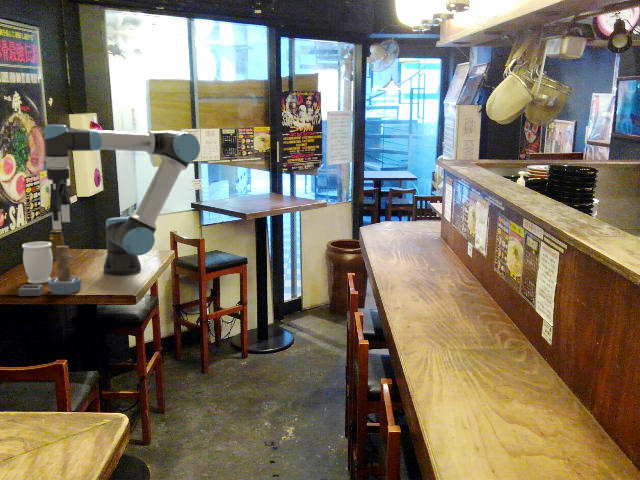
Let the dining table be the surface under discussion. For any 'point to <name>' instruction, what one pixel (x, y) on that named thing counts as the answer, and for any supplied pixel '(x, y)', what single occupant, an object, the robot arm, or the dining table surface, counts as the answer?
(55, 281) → the candle dish
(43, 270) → the jar
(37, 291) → the grey slotted block
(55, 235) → the condiment
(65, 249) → the brown long rectangular bar
